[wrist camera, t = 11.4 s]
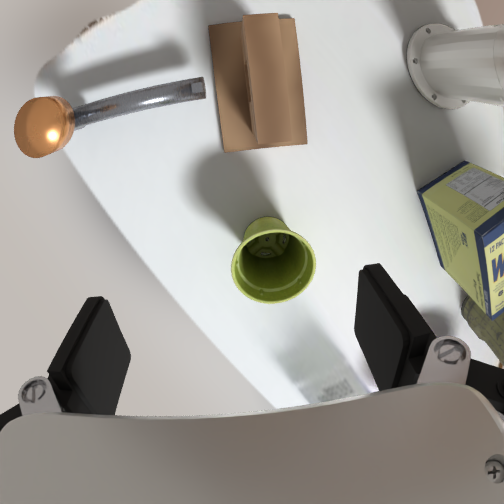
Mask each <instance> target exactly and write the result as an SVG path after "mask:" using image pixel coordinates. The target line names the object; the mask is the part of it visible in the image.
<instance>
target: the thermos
mask: <svg viewBox="0 0 504 504" xmlns="http://www.w3.org/2000/svg"><path fill="white" fill-rule="evenodd" d="M461 311H462V316H463V317H464V319H465V320H466V321H467V322H468V324H469V326H470V327H471V329H472V330H473V331H474V332H475V334H476V335H477V336H478V338H479V339H481V340H483V341H485V342H486V343H487V345H488V346H489V347H490V348H491V350H492V351H493V352H494V354H495V355H496V356H497V358H498V359H499V360H500V362H501V363H502V365H503V366H504V312H503V313H502V314H501V315H499V316H498V317H497V318H496V319H494V320H493V321H492V320H491V319H490V318H489V317H488V316H487V315H486V314H485V312H484V311H483V310H482V309H481V308H480V307H479V306H478V305H477V304H476V302H475V301H474V300H473V299H472V298H471V297H470V296H469V295H468V296H467V297H466V299H465V301H464V303H463V305H462V309H461Z"/></svg>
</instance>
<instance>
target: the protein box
mask: <svg viewBox="0 0 504 504" xmlns="http://www.w3.org/2000/svg"><path fill="white" fill-rule="evenodd" d="M417 193H418V196H419V198H420V201H421V204H422V207H423V210H424V213H425V216H426V219H427V222H428V225H429V228H430V231H431V234H432V237H433V241H434V244H435V247H436V251H437V254H438V258H439V261H440V265H441V267H442V268H443V269H444V270H445V271H446V272H447V273H448V274H449V275H450V276H451V277H452V278H453V279H454V280H455V281H456V282H457V283H458V284H459V285H460V286H461V288H462V289H463V290H464V291H465V292H466V293H467V294H468V295H469V296H470V297H471V298H472V299H473V300H474V301H475V302H476V304H477V305H478V306H479V307H480V308H481V309H482V310H483V311H484V312H485V314H486V315H487V316H488V317H489V318H490V319H491V320H492V321H493V320H494V319H496V318H497V317H498V316H499V315H501V314H502V313H503V312H504V178H503V177H501V176H499V175H497V174H494V173H492V172H490V171H488V170H485V169H483V168H481V167H478V166H476V165H474V164H472V163H469V162H467V161H464V162H462V163H460V164H459V165H457V166H456V167H454V168H453V169H451V170H449V171H448V172H446V173H445V174H443V175H442V176H440V177H438V178H437V179H435V180H434V181H432V182H431V183H429V184H428V185H426V186H424V187H423V188H421V189H420V190H418V191H417Z"/></svg>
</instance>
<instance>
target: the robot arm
mask: <svg viewBox="0 0 504 504" xmlns="http://www.w3.org/2000/svg"><path fill="white" fill-rule="evenodd" d="M407 64H408V68H409V72H410V75H411V78H412V80H413V82H414V84H415V86H416V88H417V89H418V90H419V92H420V93H421V94H422V95H423V96H424V97H425V98H426V99H427V100H428V101H429V102H431V103H432V104H434V105H436V106H438V107H441V108H446V109H458V108H461V107H463V106H465V105H466V104H467V103H469V102H470V101H473V102H480V103H486V104H492V105H498V106H503V107H504V24H502V25H493V26H483V27H476V28H469V29H462V30H454V29H452V28H450V27H449V26H446V25H443V24H429V25H425V26H423V27H421V28H419V29H418V30H417V31H416V32H415V33H414V34H413V35H412V37H411V39H410V41H409V44H408V49H407ZM354 331H355V335H356V338H357V340H358V342H359V345H360V347H361V349H362V351H363V354H364V356H365V358H366V361H367V363H368V365H369V367H370V370H371V372H372V374H373V377H374V379H375V382H376V384H377V386H378V389H379V391H378V392H373V393H369V394H364V395H359V396H354V397H349V398H343V399H338V400H332V401H327V402H321V403H315V404H309V405H303V406H296V407H288V408H281V409H273V410H264V411H255V412H244V413H233V414H218V415H199V416H158V417H157V416H117V415H115V411H116V408H117V404H118V400H119V397H120V393H121V389H122V387H123V383H124V380H125V376H126V373H127V370H128V367H129V363H130V360H131V354H130V350H129V348H128V346H127V344H126V342H125V339H124V337H123V335H122V333H121V331H120V328H119V325H118V323H117V321H116V318H115V316H114V313H113V311H112V309H111V306H110V304H109V302H108V300H105V299H104V298H103V297H102V296H99V297H89V298H87V300H86V302H85V303H84V305H83V307H82V308H81V310H80V312H79V313H78V315H77V317H76V318H75V320H74V322H73V324H72V326H71V327H70V329H69V331H68V333H67V335H66V336H65V338H64V340H63V342H62V343H61V345H60V347H59V349H58V351H57V353H56V355H55V357H54V358H53V360H52V362H51V364H50V366H49V368H48V370H47V372H48V373H49V377H48V378H45V377H42V376H38V377H34V378H31V379H29V380H28V381H27V382H25V383H24V384H23V385H22V387H21V388H20V390H19V394H18V400H19V404H17V405H16V406H14V407H12V408H11V409H9V410H7V411H6V412H4V413H2V414H1V415H0V504H504V369H501V368H498V367H495V366H492V365H489V364H486V363H483V362H480V361H477V360H474V359H471V351H470V349H469V347H468V345H467V344H466V343H465V342H464V341H462V340H461V339H459V338H456V337H453V336H441V337H438V338H437V337H436V336H435V335H434V333H433V332H432V330H431V329H430V327H429V326H428V324H427V323H426V322H425V320H424V319H423V317H422V316H421V315H420V313H419V312H418V310H417V309H416V308H415V306H414V305H413V303H412V302H411V301H410V299H409V298H408V297H407V296H406V295H404V294H403V293H402V292H401V291H400V289H399V288H398V287H397V285H396V284H395V283H394V281H393V280H392V279H391V277H390V276H389V275H388V273H387V272H386V271H385V269H384V268H383V267H382V265H381V264H380V263H377V264H371V265H365V266H364V268H363V270H360V271H359V279H358V292H357V304H356V315H355V325H354Z"/></svg>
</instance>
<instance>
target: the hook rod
mask: <svg viewBox="0 0 504 504" xmlns="http://www.w3.org/2000/svg"><path fill="white" fill-rule="evenodd" d="M199 99H206V89H205V83H204V78H203V77H199V78H193V79H187V80H181V81H176V82H171V83H166V84H161V85H156V86H152V87H147V88H143V89H139V90H135V91H131V92H127V93H123V94H119V95H115V96H112V97H108V98H105V99H101V100H98V101H95V102H91V103H88V104H85V105H82V106H79V107H76V108H72V107H71V106H70V104H69V103H68V102H67V101H66V100H65V99H63V98H61V97H58V96H48V97H38V98H33V99H31V100H29V101H27V102H26V103H25V104H24V105H23V106H22V107H21V109H20V110H19V112H18V114H17V117H16V120H15V124H14V135H15V140H16V143H17V145H18V147H19V148H20V150H21V151H22V152H23V153H24V154H25V155H27V156H29V157H32V158H40V157H43V156H46V155H48V154H51V153H53V152H55V151H58V150H60V149H62V148H63V147H64V146H65V145H66V144H67V143H68V142H69V140H70V139H71V137H72V135H73V132H74V131H75V130H78V129H82V128H84V127H85V126H86V125H88V124H92V123H95V122H99V121H102V120H106V119H110V118H114V117H117V116H121V115H125V114H129V113H134V112H138V111H142V110H147V109H151V108H156V107H161V106H166V105H171V104H176V103H182V102H187V101H193V100H199Z"/></svg>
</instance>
